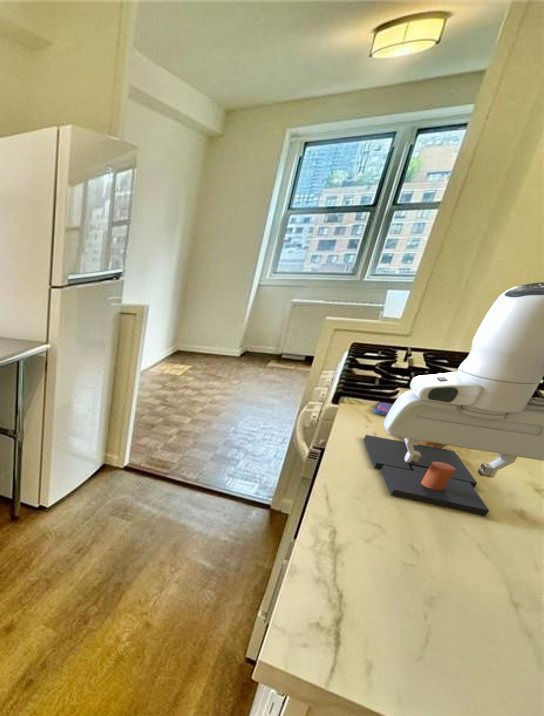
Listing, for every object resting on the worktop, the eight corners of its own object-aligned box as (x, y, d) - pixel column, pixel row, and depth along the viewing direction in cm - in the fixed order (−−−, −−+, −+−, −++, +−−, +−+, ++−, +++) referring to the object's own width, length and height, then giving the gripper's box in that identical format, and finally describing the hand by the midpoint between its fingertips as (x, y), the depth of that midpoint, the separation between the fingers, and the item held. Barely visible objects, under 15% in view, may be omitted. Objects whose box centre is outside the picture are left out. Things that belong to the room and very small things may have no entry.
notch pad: (451, 456, 96) (454, 450, 95) (474, 488, 85) (477, 483, 84) (363, 439, 102) (365, 434, 101) (374, 468, 91) (376, 462, 91)
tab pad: (462, 481, 87) (477, 456, 85) (485, 516, 78) (503, 489, 75) (378, 464, 93) (390, 440, 90) (390, 495, 83) (404, 469, 81)
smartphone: (377, 405, 119) (378, 401, 118) (461, 422, 109) (463, 418, 109) (372, 413, 114) (374, 409, 114) (459, 432, 105) (462, 428, 104)
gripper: (575, 397, 73) (525, 475, 79) (400, 375, 82) (368, 447, 89) (597, 411, 68) (542, 493, 75) (409, 387, 77) (374, 462, 84)
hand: (446, 468), depth 82 cm, fingers open, 8 cm apart
